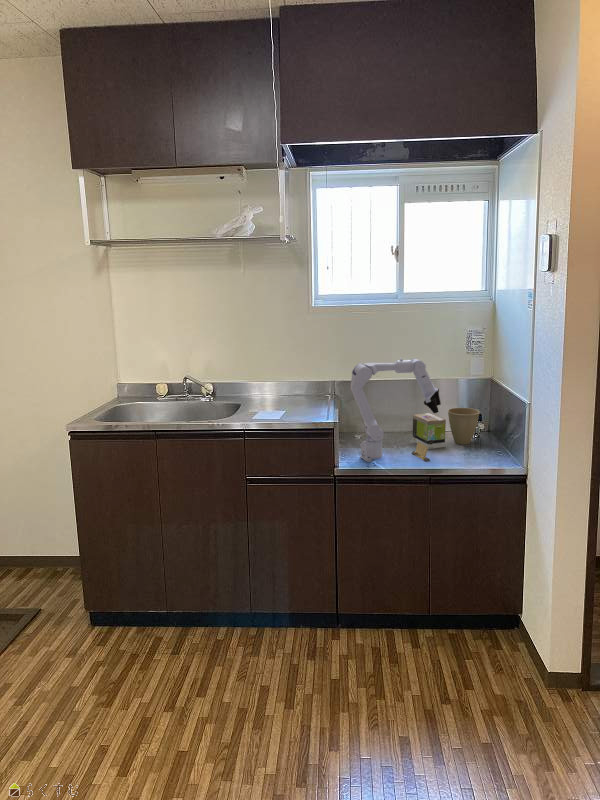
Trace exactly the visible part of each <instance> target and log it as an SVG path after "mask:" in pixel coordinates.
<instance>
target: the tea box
mask: <svg viewBox="0 0 600 800" xmlns="http://www.w3.org/2000/svg"><path fill="white" fill-rule="evenodd" d="M446 421H447V420H446V419H445V418H443V417H440V416H438V415H437V414H435V413H430V412H427V413H417V414H413V415H412V443H413V444H417V443H418V442H420V443H422V444H423V445H425V446H427V447H428V449H427V450H432V449H438V448H445V447H446V427H447V426H446V424H447V423H446Z"/></svg>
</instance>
